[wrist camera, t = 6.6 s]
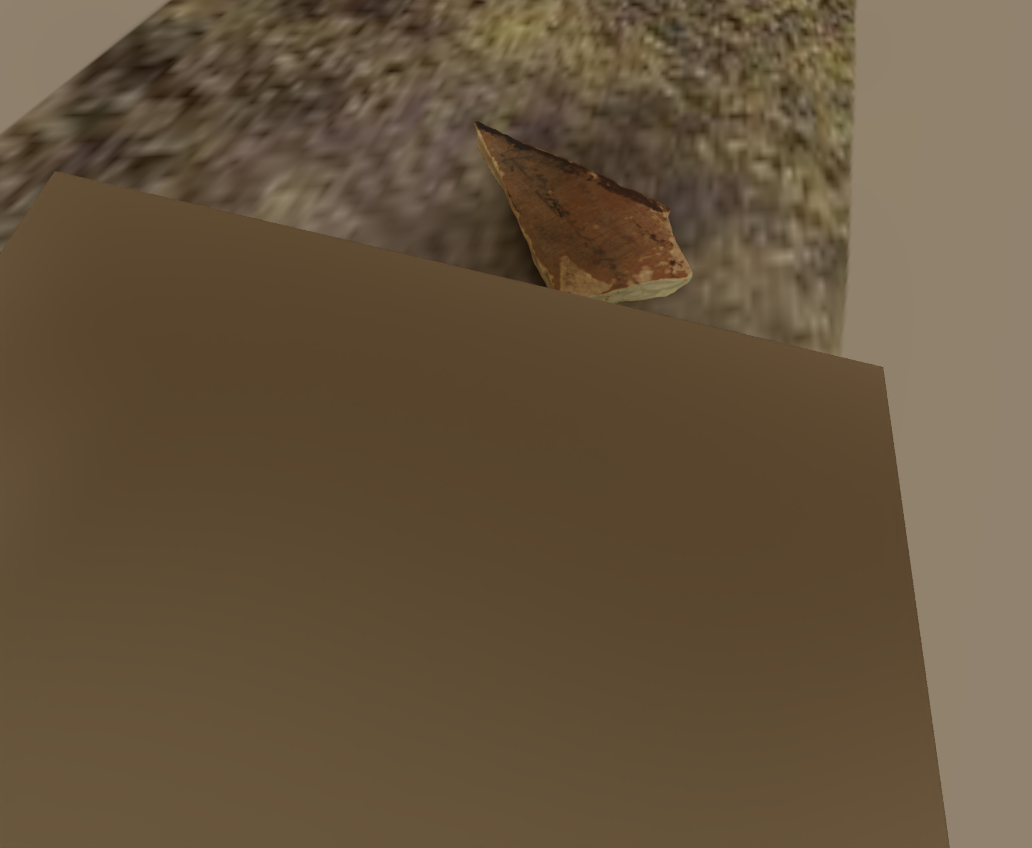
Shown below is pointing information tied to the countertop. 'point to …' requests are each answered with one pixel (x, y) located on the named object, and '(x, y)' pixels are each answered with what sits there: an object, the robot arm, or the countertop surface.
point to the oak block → (432, 558)
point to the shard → (585, 225)
